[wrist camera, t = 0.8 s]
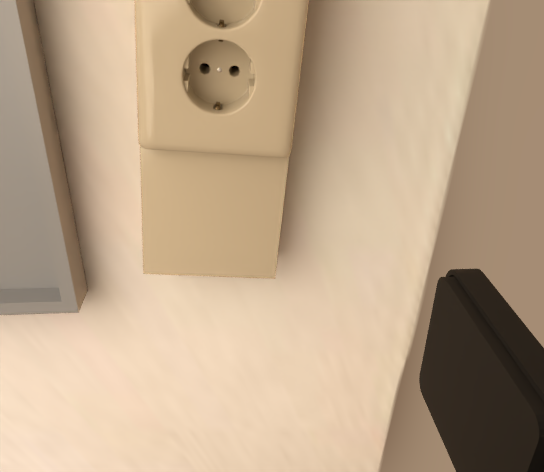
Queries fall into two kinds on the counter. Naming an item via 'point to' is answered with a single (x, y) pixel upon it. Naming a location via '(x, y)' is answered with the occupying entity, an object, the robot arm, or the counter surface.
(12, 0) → the grey rectangular tray
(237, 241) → the electrical outlet
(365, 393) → the counter surface
